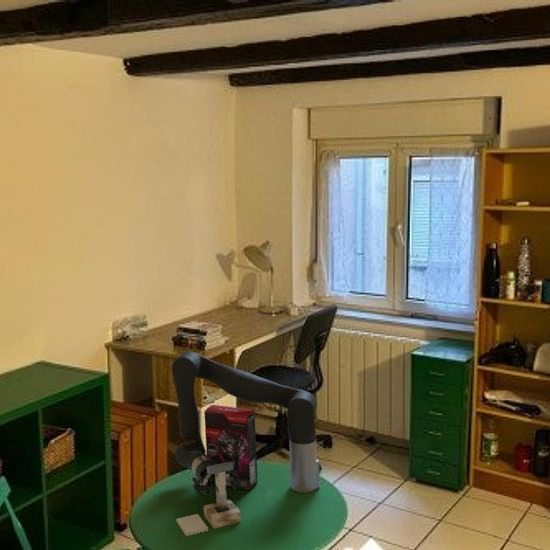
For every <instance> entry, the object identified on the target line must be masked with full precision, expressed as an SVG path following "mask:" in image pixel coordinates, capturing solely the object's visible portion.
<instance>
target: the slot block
mask: <svg viewBox="0 0 550 550" xmlns="http://www.w3.org/2000/svg"><path fill="white" fill-rule="evenodd" d="M203 517H204V518H205V519H206V520H207V522H208V523H209V524H210V525H211V527H212V528H213V529H217V528H221V527H225V526H230V525H234V524H238V522H239V523H241V522H242V519H241V518H242V517H241V511H240V509H239V508H238V506H236V504H234V502H233V501H232V500H231V499H227V511H224V512H220V513H218V512H217V502H213V503H209V504H205V505H203Z"/></svg>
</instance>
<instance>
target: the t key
mask: <svg viewBox="0 0 550 550" xmlns="http://www.w3.org/2000/svg"><path fill="white" fill-rule="evenodd" d="M230 470H233V463H232V462H226V463H221V464H216V465H212V466H207V473H208V474H209V475H212V474H215V478H216V485H215V496H216V499H215V500H216V503H217V512H218V513H220V512H224V511H227V500H228V499H227V486H226V471H230Z"/></svg>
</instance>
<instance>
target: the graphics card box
mask: <svg viewBox="0 0 550 550" xmlns="http://www.w3.org/2000/svg"><path fill="white" fill-rule="evenodd" d="M255 414H256V411H255V409H254V408H241V407H233V406H227V405H226V406H224V405H218V404H211V405H210V406H209V407H207V408H206V409H205V410H204V427H205V428H204V430H205V450H206V455H207V456H208V457H209V458H210V459H211V460H212V461H213V462H214V463H215V464H221V463H226V462H232V463H233V470H232V471H233V472H235V473H236V474H237V475H238V481H239V483H238V488H237V489H240V490H245V491H251V490H252V489H253V488H254V487H255V486H256V485H258V467H257V466H258V465H257V463H258V461H257V442H256V441H257V437H256V415H255ZM226 473H229V471H226ZM228 481H229V482H230V480H229V479H228ZM227 487H228V488H232V487H231V486H230V485H227V486H226V488H227Z"/></svg>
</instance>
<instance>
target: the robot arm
mask: <svg viewBox="0 0 550 550" xmlns="http://www.w3.org/2000/svg"><path fill="white" fill-rule="evenodd" d="M171 372H172V377H173V383H174V387H175V392H176V393H175V394H176V399H177V407H178V422H179V423H178V424H179V427H178V428H179V435H180V437H181V438H182V439H185V440H193V442H187V443H183V444H180V445H178V446H177V447H176V448H175V452H174V453H175V454H174V457H175V460H176V461H177V463H178V464H179V465H180V466H181V467H183V468H186V469H188V470H190V471H192V474H193V475H194V476H195V477H192V478H191V481H192V483H191V484H192V488H193V489H194V491H195V492H196V493H201V492H202V493H204V494H205V495H206V496H208V497H210V496H212V489H211V488H212V487H216V478H215V474H212V475H209V474H208V473H207V466H212V465H216V464H215V463H214V462H213V461H212V460H211V459H210V458H209V457H208V456H207V453H206V446H205V445H204V443H203V438H202V435H201V430H200V427H201V426H200V413H199V412H200V411H199V408H198V404H197V402H196V398H195V381H196V378H197V379H198V378H199V379H202V380H205V381H208V382H211V383H213V384H215V385H216V386H218V387H219V388H220V389H222V390H223V391H224V392H225V393H227V394H228V395H230V396H232V397H234V398H237V399H240V400H243V401H246V402H249V403H256V404H257V403H258V404H272V405H276V406H280V407H282V408H284V409H286V411H287V413H286V416H287V417H286V418H287V432H288V436H289V469H290V470H289V472H290V473H289V475H290V476H289V477H290V478H289V479H290V480H289V484H290V489H291V490H292V491H294V492H296V493H303V494H304V493H310V492H314V491H316V490H317V489H319V488H320V461H319V460H318V456H317V454H318V453H317V452H318V451H317V431H316V422H315V419H316V418H315V417H316V416H315V413H316V410H317V406H318V402H317V399H316V397H315V396H314V395H313V394H312V393H311V392H309V391H307V390H303V389H299V388H294V387H290V386H286V385H282V384H279V383H277V382H274V381H271V380H270V379H269V380H268V379H266V378H263V377H260V376H258V375H256V374H253V373H250V372H247V371H244V370H241V369H238V368H234V367H231V366H229V365H226V364H222V363H220V362H216V361H214V360H212V359H210V358H207V357H206V356H203V355H202V354H200V353H197V352H194V351H185V352H183V353H181V354H179V356H177V357H176V358H175V359H174V360H173V362H172V365H171ZM228 479H229V480H230V482H229V481H228ZM238 483H239V481H238V475H237V474H236V473H235V472H233V471H232V470H230V471H229V473H226V487H227V485H230V486H231V487H230V488H231V489H233V491H237V490H238V489H239V488H238ZM318 487H319V488H318Z"/></svg>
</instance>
